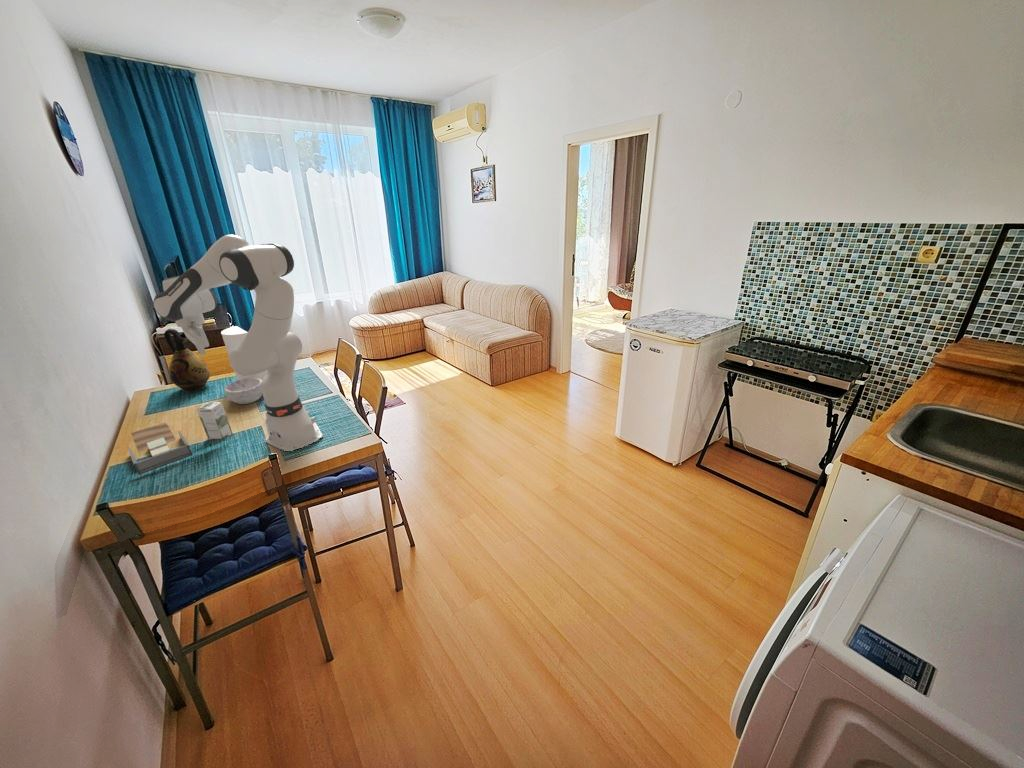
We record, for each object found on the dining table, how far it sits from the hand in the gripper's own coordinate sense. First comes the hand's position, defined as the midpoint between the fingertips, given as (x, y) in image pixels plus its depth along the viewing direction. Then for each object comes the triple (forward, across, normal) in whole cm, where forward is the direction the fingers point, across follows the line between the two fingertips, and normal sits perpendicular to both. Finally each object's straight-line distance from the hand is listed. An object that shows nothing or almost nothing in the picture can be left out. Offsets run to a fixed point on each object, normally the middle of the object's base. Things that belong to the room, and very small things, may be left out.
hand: (202, 353), depth 160 cm
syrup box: (+29, -17, +6) cm, 34 cm away
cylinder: (+29, +30, -22) cm, 47 cm away
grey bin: (+29, -15, +24) cm, 41 cm away
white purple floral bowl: (+29, +12, -12) cm, 34 cm away
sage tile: (+28, -10, +24) cm, 38 cm away
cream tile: (+29, -16, +24) cm, 40 cm away
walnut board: (+29, +2, +24) cm, 38 cm away
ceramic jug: (+29, +48, +2) cm, 56 cm away
